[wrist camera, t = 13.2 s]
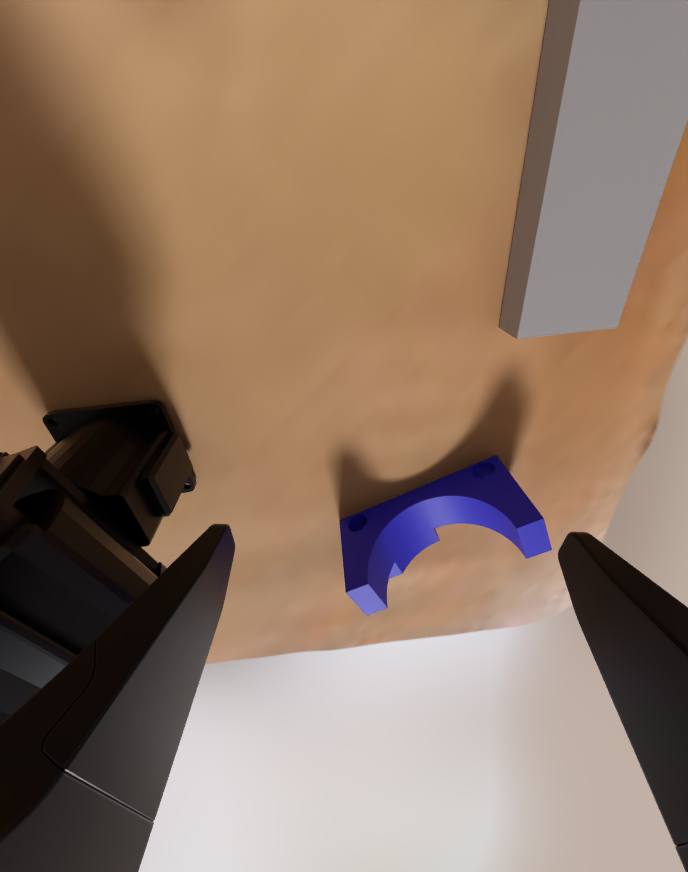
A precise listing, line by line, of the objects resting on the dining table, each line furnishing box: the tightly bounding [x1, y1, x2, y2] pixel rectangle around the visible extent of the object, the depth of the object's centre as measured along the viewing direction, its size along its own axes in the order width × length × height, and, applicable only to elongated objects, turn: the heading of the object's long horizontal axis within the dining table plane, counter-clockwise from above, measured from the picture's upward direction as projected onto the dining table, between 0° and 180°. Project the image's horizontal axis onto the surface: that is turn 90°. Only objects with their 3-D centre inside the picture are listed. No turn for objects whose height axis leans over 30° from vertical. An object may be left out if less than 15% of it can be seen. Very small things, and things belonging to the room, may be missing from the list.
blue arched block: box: [340, 455, 552, 615], centre depth 24 cm, size 12×4×6 cm, turn 117°
